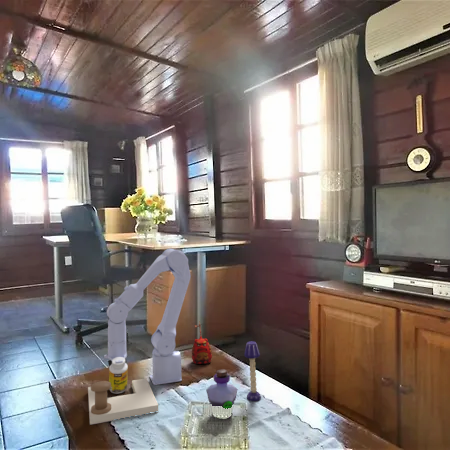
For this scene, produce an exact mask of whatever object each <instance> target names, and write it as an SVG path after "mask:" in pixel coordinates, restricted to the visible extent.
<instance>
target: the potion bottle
mask: <svg viewBox="0 0 450 450" xmlns="http://www.w3.org/2000/svg"><path fill="white" fill-rule="evenodd" d="M230 380H231V375H230V374H229V373H228V370H227V369H218V370H216V372H215V374H214V375H213V382H215V384H211V385H210V386H208V388H207V389H206V390H205V391H206V395H207V396H206V397H207V401H208V402H209V403H210V404H212V406H222V407H223V408H225V409H226V408H227V409H228V408H231V407H232V405H233V404H234V405H235V401H236V400H237V395H238V388H237V387H236V386H235V385H233V384H231V383H229V382H230Z"/></svg>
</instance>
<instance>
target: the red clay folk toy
mask: <svg viewBox="0 0 450 450" xmlns="http://www.w3.org/2000/svg"><path fill="white" fill-rule="evenodd" d="M202 325H203V323H201V321H200V320H198V325H195V324H194V329H196V328H198V327H199V338H195V339H194V342H193V344H192V347H191V348H192V349H191V360H192V362H193V364H195V365H201V364H204V365H206V364H207V365H208V364H211V363H212V362H211V361H212V357H213V355H212V353H213V352H212V347H211V345H210V343H209V341H208V339H207V338H203V335H202V327H201V326H202Z"/></svg>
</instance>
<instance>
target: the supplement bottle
mask: <svg viewBox="0 0 450 450" xmlns="http://www.w3.org/2000/svg"><path fill="white" fill-rule="evenodd" d="M115 360H116V361H117V362H118V360H120V361H122V360H123V363H116V361H115ZM128 368H129V366H128V364H127V363H125V359H124V358H123V357H116V358H114V359H113V360H112V364H111V365H110V367H109V368H108V371H109V372H108V382H110V383H111V388H110V389H108V390H109V391H110V392H111V393H112V394H116V395H117V394H122V393H125V391H126V390H127V389H128V388H127V387H128V371H129V369H128Z"/></svg>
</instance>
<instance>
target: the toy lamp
mask: <svg viewBox="0 0 450 450" xmlns="http://www.w3.org/2000/svg"><path fill="white" fill-rule="evenodd" d="M245 344H246V345H245V350H244V354H243V356H244V357H245V358H246V359H248V360H249V376H250V380H249V381H250V391H249V392H247V395H246V399H247V400H248V401H251V402H258V401H260V400H261V399H262V397H261V394H260V392H259V391H258V390H257V382H256V381H257V373H256V359H257V358H259V357H260V355H261V353H260V350H259V348H258V344H257V342H256V341H253V340H252V341H247V342H246V343H245Z"/></svg>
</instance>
